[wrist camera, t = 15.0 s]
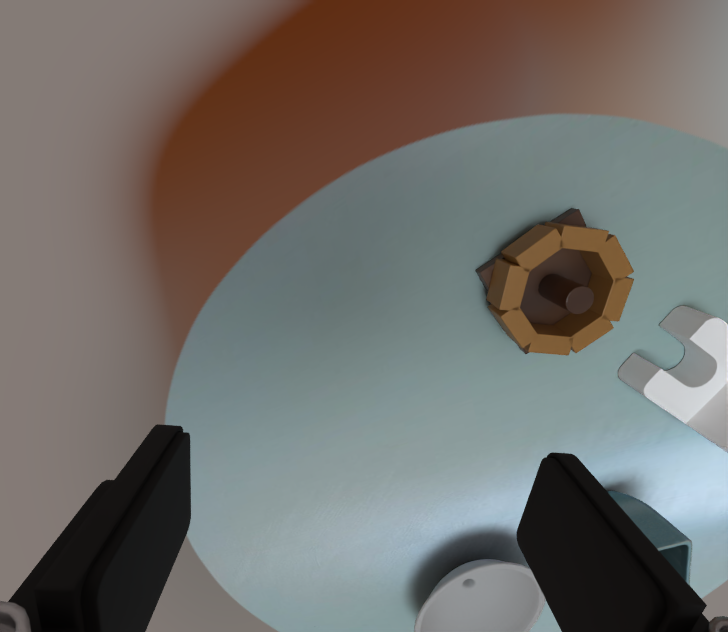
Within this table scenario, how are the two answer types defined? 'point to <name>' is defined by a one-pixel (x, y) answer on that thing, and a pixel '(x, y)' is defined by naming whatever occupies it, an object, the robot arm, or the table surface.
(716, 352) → the white slotted bracket
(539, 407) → the table surface
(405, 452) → the table surface
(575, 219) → the peg stand
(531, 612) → the dish
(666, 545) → the flower pot
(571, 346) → the segmented block ring
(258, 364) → the table surface
